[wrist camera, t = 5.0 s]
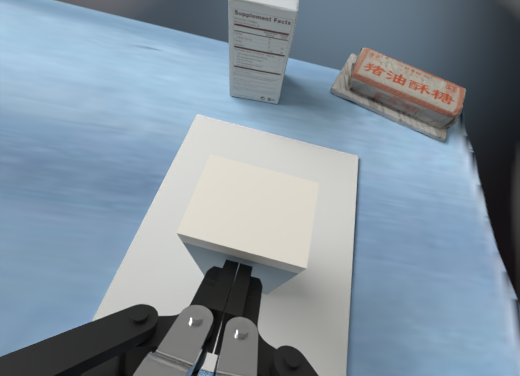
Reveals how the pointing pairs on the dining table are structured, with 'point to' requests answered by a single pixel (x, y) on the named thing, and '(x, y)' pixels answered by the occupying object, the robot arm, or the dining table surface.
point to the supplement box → (259, 47)
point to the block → (250, 220)
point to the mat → (285, 296)
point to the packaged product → (400, 92)
